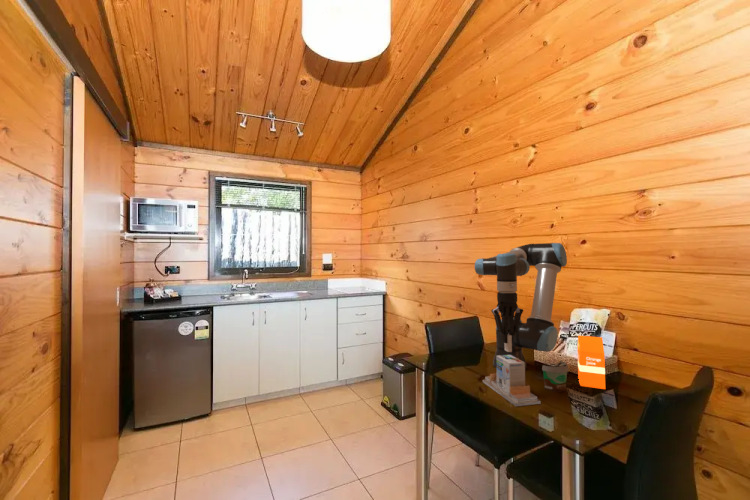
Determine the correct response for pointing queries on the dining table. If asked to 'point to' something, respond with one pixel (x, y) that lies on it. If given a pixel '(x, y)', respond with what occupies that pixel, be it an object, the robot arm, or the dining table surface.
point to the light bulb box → (510, 371)
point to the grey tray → (512, 392)
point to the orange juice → (591, 362)
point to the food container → (555, 376)
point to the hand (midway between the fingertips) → (508, 350)
